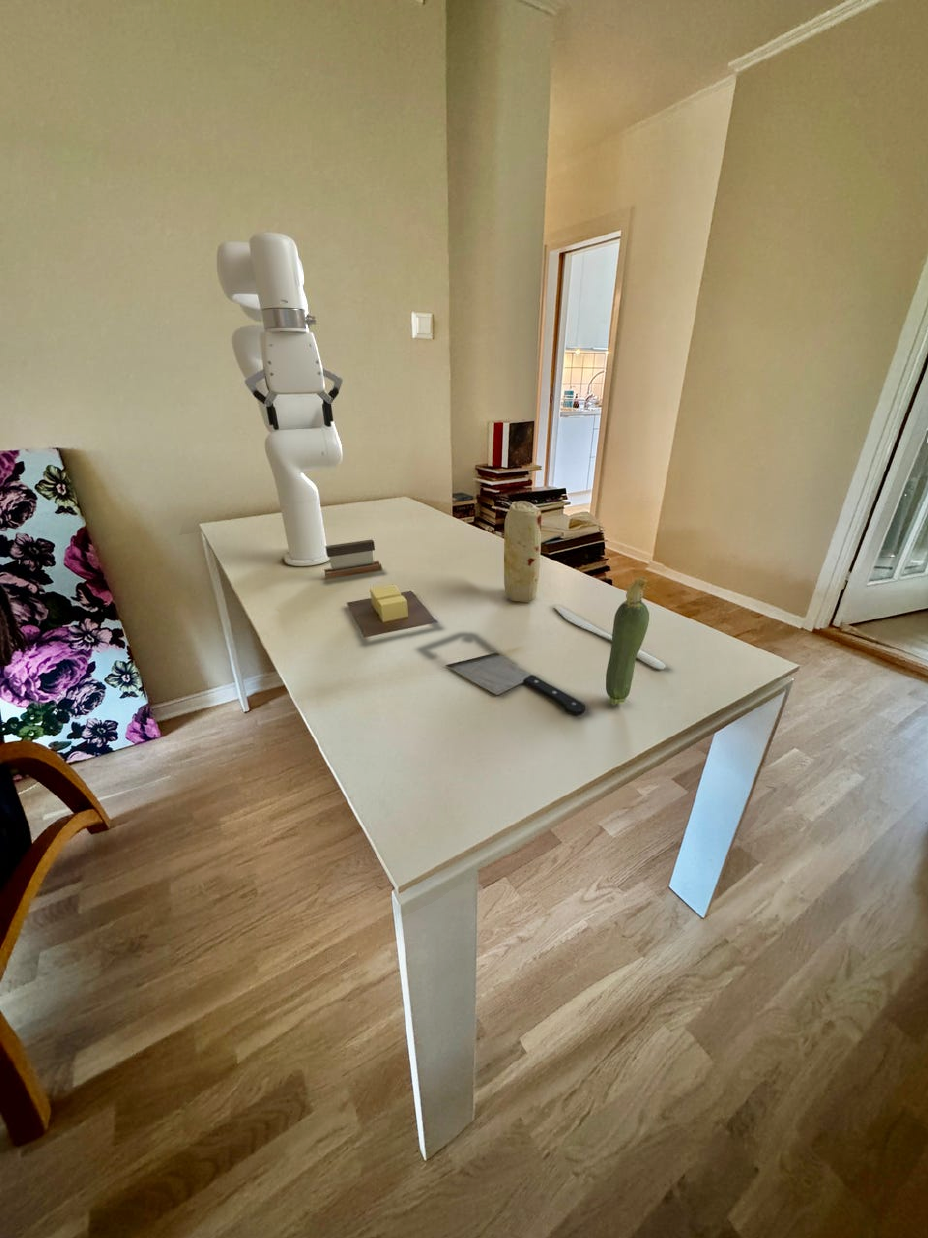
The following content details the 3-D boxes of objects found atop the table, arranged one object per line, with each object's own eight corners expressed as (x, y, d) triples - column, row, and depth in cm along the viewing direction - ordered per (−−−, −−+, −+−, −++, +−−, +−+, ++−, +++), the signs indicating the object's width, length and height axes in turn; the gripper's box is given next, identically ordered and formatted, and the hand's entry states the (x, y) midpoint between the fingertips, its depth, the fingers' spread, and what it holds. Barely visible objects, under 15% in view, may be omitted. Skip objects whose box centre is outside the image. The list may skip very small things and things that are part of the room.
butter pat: (379, 616, 92) (377, 600, 91) (404, 611, 94) (402, 595, 92) (382, 622, 90) (380, 605, 89) (408, 616, 92) (406, 600, 90)
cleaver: (542, 738, 63) (592, 707, 68) (543, 734, 63) (592, 704, 68) (421, 649, 84) (466, 632, 89) (421, 647, 84) (466, 629, 89)
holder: (325, 578, 114) (324, 569, 112) (379, 570, 118) (378, 560, 117) (327, 583, 111) (326, 573, 110) (382, 574, 116) (381, 564, 114)
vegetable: (598, 693, 72) (615, 568, 63) (626, 691, 72) (648, 566, 63) (609, 711, 68) (629, 581, 59) (638, 709, 68) (663, 579, 59)
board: (347, 608, 99) (346, 602, 98) (412, 596, 104) (411, 590, 103) (365, 644, 86) (364, 637, 85) (438, 628, 91) (438, 621, 90)
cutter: (330, 579, 113) (325, 545, 110) (375, 571, 117) (372, 539, 113) (331, 581, 112) (326, 548, 108) (377, 574, 116) (374, 541, 112)
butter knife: (655, 670, 76) (668, 664, 77) (548, 608, 97) (560, 603, 98) (655, 673, 76) (668, 667, 77) (548, 610, 97) (560, 606, 98)
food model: (545, 602, 100) (552, 507, 91) (518, 608, 98) (521, 511, 88) (521, 585, 108) (525, 496, 99) (495, 591, 106) (496, 500, 96)
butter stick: (371, 604, 97) (369, 588, 96) (395, 599, 99) (394, 583, 97) (377, 614, 93) (375, 597, 92) (402, 609, 95) (401, 593, 93)
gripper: (330, 326, 91) (343, 423, 98) (231, 324, 84) (253, 428, 92) (339, 322, 84) (351, 426, 92) (233, 320, 78) (256, 432, 86)
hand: (302, 427), depth 92 cm, fingers open, 9 cm apart
